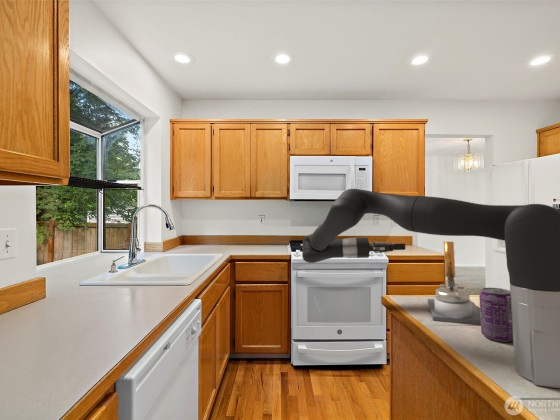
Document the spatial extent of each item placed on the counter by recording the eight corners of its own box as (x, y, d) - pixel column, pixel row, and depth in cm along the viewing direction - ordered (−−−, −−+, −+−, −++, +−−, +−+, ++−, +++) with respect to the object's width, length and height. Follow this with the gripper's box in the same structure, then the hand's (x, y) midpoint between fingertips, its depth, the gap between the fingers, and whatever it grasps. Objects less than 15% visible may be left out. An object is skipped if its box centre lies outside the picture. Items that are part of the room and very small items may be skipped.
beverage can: (509, 334, 76) (507, 287, 77) (521, 345, 70) (518, 294, 70) (477, 331, 79) (475, 286, 79) (486, 342, 72) (483, 293, 72)
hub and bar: (471, 304, 84) (467, 247, 85) (435, 301, 88) (432, 246, 89) (466, 289, 101) (463, 241, 101) (436, 287, 105) (434, 241, 106)
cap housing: (488, 325, 82) (487, 306, 83) (433, 320, 88) (432, 303, 88) (473, 305, 101) (472, 290, 101) (427, 302, 106) (427, 287, 106)
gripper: (355, 238, 103) (407, 237, 99) (354, 236, 116) (401, 235, 112) (356, 260, 103) (409, 259, 99) (355, 255, 115) (402, 254, 112)
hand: (404, 246), depth 105 cm, fingers closed
